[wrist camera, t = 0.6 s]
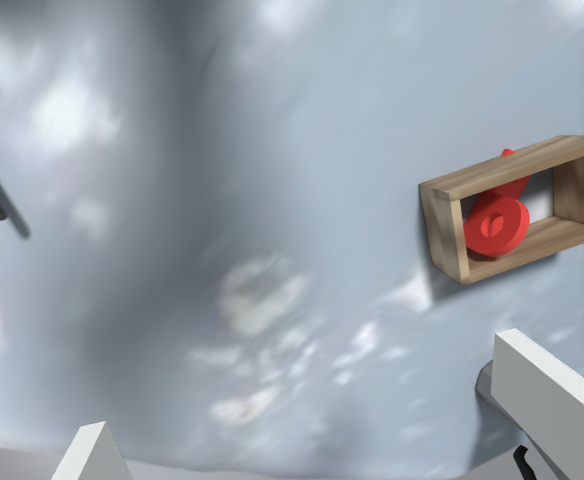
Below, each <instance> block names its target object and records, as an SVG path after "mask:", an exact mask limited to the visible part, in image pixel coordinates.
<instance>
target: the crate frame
mask: <svg viewBox="0 0 584 480" xmlns="http://www.w3.org/2000/svg"><path fill="white" fill-rule="evenodd" d="M514 152H516V153H513V154H510V155H507V156H499V157H496V158H493V159H490V160H488V161H485V162H482V163H479V164H476V165H473V166H470V167H467V168H464V169H462V170H459V171H456V172H453V173H450V174H447V175H444V176H441V177H438V178H436V179H433V180H430V181H427V182H424V183H421V184H419V189H420V195H421V201H422V206H423V212H424V218H425V224H426V229H427V235H428V241H429V246H430V252H431V258H432V263H433V266H434V267H436V268H437V269H438V270H440V271H441V272H443V273H444V274H446V275H447V276H448V277H450V278H451V279H453V280H454V281H455V282H457V283H458V284H460V285H461V286H465V285H468V284H471V283H473V282H476V281H479V280H482V279H485V278H487V277H490V276H493V275H496V274H499V273H501V272H504V271H507V270H510V269H513V268H515V267H518V266H521V265H524V264H527V263H529V262H532V261H535V260H538V259H541V258H543V257H546V256H549V255H552V254H554V253H557V252H560V251H563V250H566V249H568V248H571V247H574V246H577V245H580V244H582V243H584V136H567V135H560V136H557V137H554V138H551V139H548V140H545V141H542V142H540V143H537V144H534V145H531V146H528V147H525V148H522V149H519V150H516V151H514ZM551 167H553V185H554V216H552V217H549V218H546V219H543V220H540V221H537V222H535V223H532V224H529V227H528V230H527V233H526V235H525V237H524V238H523V240H522V241H521V242H520V244H519V245H518V246H517V247H516V248H514V249H513V250H512V251H510V252H509V253H507V254H504V255H502V256H497V257H490V256H486V255H483V254H481V253H478V252H476V251H474V250H472V249H470V248H468V247H466V243H465V236H464V228H463V221H462V213H461V206H460V199H462V198H465V197H468V196H471V195H474V194H476V193H479V192H482V191H485V190H488V189H491V188H494V187H496V186H499V185H502V184H505V183H508V182H511V181H514V180H517V179H519V178H522V177H525V176H528V175H531V174H534V173H537V172H539V171H542V170H545V169H548V168H551Z"/></svg>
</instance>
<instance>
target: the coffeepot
mask: <svg viewBox="0 0 584 480" xmlns="http://www.w3.org/2000/svg"><path fill="white" fill-rule="evenodd" d="M492 367H493V360H492V361H490V362H489V363H488V364H487V365H486V366H485V367H484V368H483V369H482V371H481V372H480V374H479V376H478V379H477V387H476V390H477V391H478V392H479V394H480V395H481V396H482V397H483V399H484V400H485V401H486V402H487V403H488V404H489V405H490V406H492V407H493V408H494V409H495V410H497V411H498V412H499V413H500V414H501V415H503V416H504V417H505V418H506V419H508V420H509V421H510V422H511V423H512V424H514V425H515V426H516V427H517V428H519V429H520V430H523V429H522V428H521V426H520V425H519V424H518V423H517V422H516V421H515V420H514V419H513V418H512V417H511V416H510V415H509V414H508V413H507V411H506V410H505V409H504V408H503V407H502V406H501V405H500V404H499V403H498V402H497V401H496V400H495V399H494V398H493V396H492V395H491V380H492ZM523 431H524V430H523ZM524 432H525V431H524ZM525 433H526V432H525ZM526 435H527V437H528V438H529V440H530V441H531V442H532V444H533V445H534V446H535V447H536V449H537V450H538V452H539V453H540V454H541V456H542V457H543V459H544V460H545V461H546V463H547V464H548V465H549V467H550V468H551V469H552V471H553V472H554V473H555V475H556V476H557V477H558V479H559V480H570V479H569V478H568V477H567V476H566V475H565V474H564V472H563V471H562V470H561V469H560V468H559V467H558V466H557V465H556V464H555V463H554V462H553V461H552V460H551V459H550V457H549V456H548V455H547V454H546V453H545V452H544V451H543V450H542V449H541V448H540V447H539V446H538V445H537V444H536V442H535V441H534V440H533V439H532V438H531V437H530V436H529V435H528V434H527V433H526ZM527 450H528V449H527V448H526V447H524V446H522V445H520V446H519V447H518V448H517V449H516V451H515V452H514V454H513V457H514V459H515V461H516V463H517V465H518V468H519V469H520V472H521V474H522V476H523V478H524V480H537V479H536V476H535V474H534V471H533V470H532V468H531V467H530V466H529V465H528V464H527V462H526V461H525V458H524V455H525V453H526V451H527Z"/></svg>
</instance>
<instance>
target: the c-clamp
mask: <svg viewBox="0 0 584 480" xmlns="http://www.w3.org/2000/svg"><path fill="white" fill-rule="evenodd" d="M8 216H9V214H8V212H7V210H6V208H5V207H4V205H3V204H2V202H1V201H0V221H3V220H5V219H7V218H8Z"/></svg>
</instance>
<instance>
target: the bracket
mask: <svg viewBox="0 0 584 480" xmlns="http://www.w3.org/2000/svg"><path fill="white" fill-rule="evenodd" d="M513 153H516V152H514V151H512V150H509V149H504V151H503V153H502V154H501V156H507V155H510V154H513ZM531 175H532V174H531ZM531 175H528V176H525V177H522V178H519V179H517V180H514V181H511V182H508V183H505V184H502V185H499V186H496V187H494V188H491V189H488V190H485V191H482V192H481V193H480V195H479V197H478V199H477V201H476V202H475V204H474V206H473V208H472V210H471V212H470V213H469V215H468V217H467V219H466V221H465V223H464V225H463V228H464V236H465V243H466V247H468V248H470V249H472V250H474V251H476V252H478V253H481V254H483V255H486V256H490V257H497V256H502V255H504V254H507V253H509V252H510V251H512V250H513V249H514V248H516V247H517V246H518V245H519V244H520V242H521V241H522V240H523V238H524V237H525V235H526V233H527V230H528V227H529V212H528V210H527V208H526V207H525V205H524V204H523V203H521V202H519V201H517V199H518V197H519V196H520V194H521V192H522V191H523V189H524V187H525V185H526V184H527V182H528V180H529V178H530V177H531ZM502 225H503V226H502ZM501 227H502V228H501ZM500 229H501V230H500Z"/></svg>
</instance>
